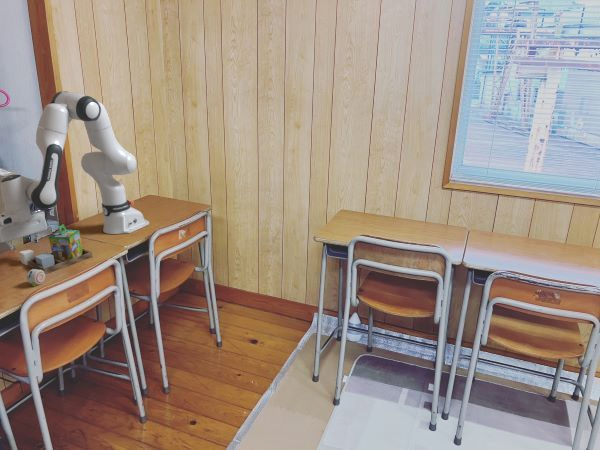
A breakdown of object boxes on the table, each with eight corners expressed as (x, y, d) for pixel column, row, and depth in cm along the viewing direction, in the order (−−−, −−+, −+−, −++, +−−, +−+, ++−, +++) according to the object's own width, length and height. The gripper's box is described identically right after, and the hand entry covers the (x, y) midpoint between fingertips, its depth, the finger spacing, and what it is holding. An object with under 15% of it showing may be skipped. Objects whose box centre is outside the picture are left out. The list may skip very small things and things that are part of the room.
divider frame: (75, 249, 223) (74, 245, 222) (92, 257, 215) (91, 252, 215) (28, 265, 207) (27, 261, 206) (45, 274, 200) (44, 269, 199)
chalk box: (73, 262, 209) (67, 230, 204) (52, 262, 210) (46, 229, 205) (84, 253, 218) (79, 222, 213) (64, 253, 219) (58, 221, 213)
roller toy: (26, 286, 190) (23, 272, 188) (38, 279, 196) (35, 265, 194) (36, 287, 189) (33, 274, 187) (47, 280, 195) (45, 267, 193)
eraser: (31, 259, 213) (28, 248, 212) (35, 261, 211) (33, 251, 209) (21, 262, 210) (19, 251, 209) (26, 265, 208) (23, 254, 206)
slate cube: (37, 267, 206) (35, 256, 204) (49, 263, 210) (47, 252, 208) (43, 270, 203) (41, 259, 201) (55, 266, 207) (53, 255, 205)
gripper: (39, 207, 212) (45, 237, 217) (-12, 219, 197) (-5, 252, 201) (47, 209, 209) (52, 240, 214) (-4, 222, 193) (3, 255, 198)
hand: (24, 246), depth 207 cm, fingers open, 8 cm apart
